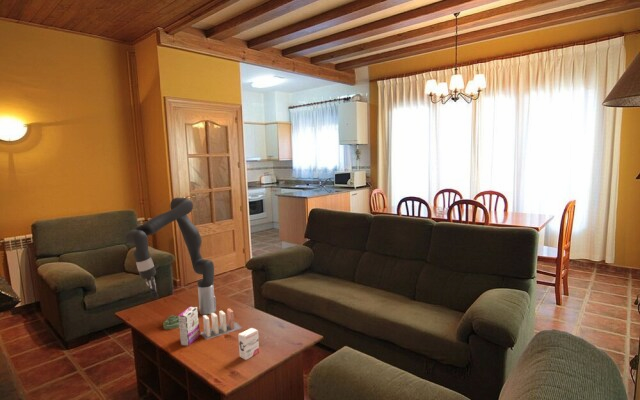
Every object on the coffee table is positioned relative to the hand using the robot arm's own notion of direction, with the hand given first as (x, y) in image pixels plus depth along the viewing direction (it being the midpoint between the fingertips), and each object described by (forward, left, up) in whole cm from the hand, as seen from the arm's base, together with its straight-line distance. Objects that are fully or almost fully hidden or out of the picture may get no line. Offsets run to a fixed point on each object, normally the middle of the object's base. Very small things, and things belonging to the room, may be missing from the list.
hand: (156, 297), depth 189 cm
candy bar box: (-13, +10, -24) cm, 29 cm away
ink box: (-32, +42, -24) cm, 58 cm away
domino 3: (-31, +10, -23) cm, 40 cm away
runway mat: (-30, +10, -24) cm, 39 cm away
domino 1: (-22, +10, -23) cm, 34 cm away
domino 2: (-26, +10, -23) cm, 37 cm away
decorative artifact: (-10, -14, -24) cm, 29 cm away
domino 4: (-35, +10, -23) cm, 44 cm away
